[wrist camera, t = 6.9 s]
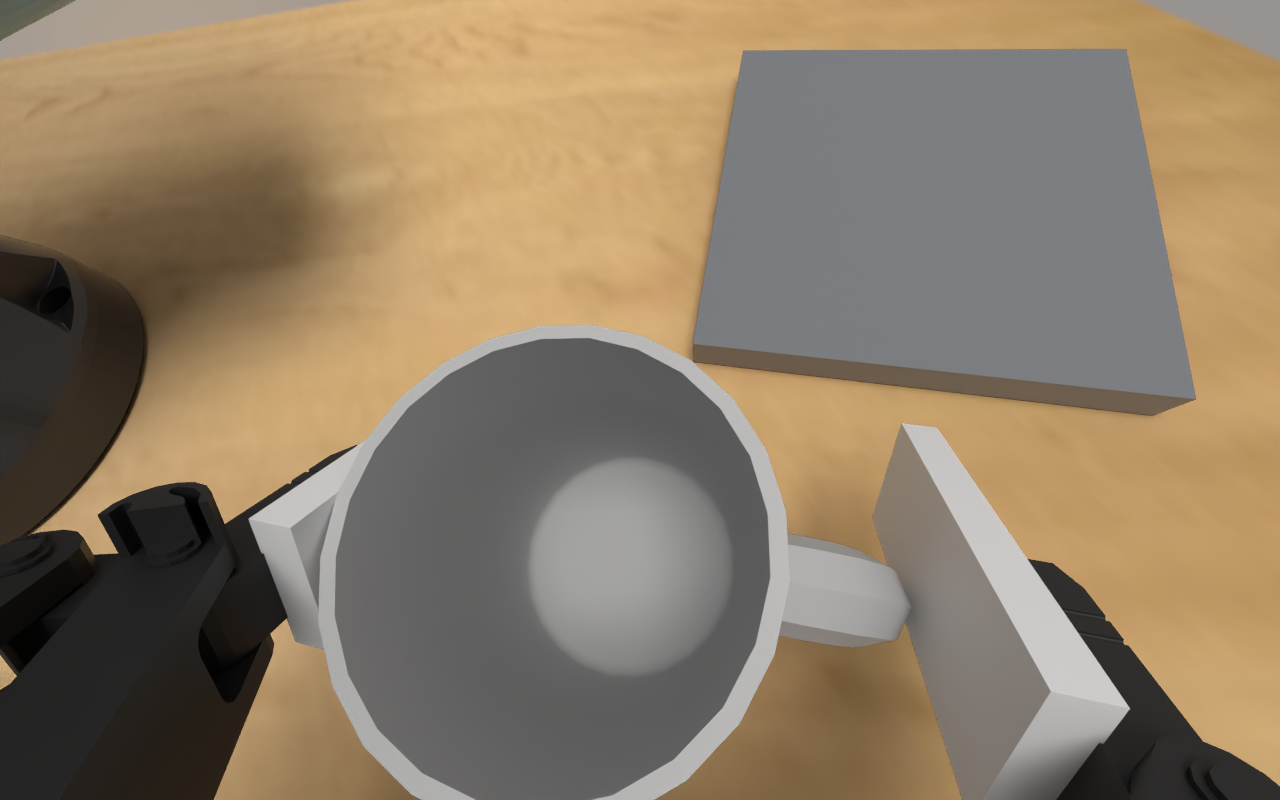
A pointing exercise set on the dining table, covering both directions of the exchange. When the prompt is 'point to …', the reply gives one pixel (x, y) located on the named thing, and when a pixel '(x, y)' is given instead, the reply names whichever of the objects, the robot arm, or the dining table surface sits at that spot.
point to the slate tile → (945, 228)
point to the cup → (570, 573)
